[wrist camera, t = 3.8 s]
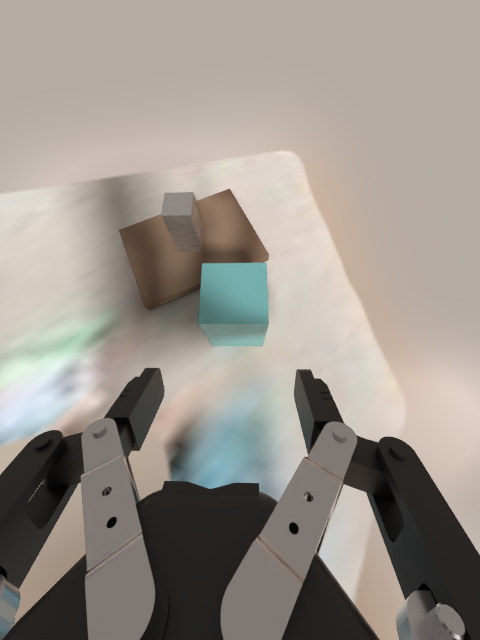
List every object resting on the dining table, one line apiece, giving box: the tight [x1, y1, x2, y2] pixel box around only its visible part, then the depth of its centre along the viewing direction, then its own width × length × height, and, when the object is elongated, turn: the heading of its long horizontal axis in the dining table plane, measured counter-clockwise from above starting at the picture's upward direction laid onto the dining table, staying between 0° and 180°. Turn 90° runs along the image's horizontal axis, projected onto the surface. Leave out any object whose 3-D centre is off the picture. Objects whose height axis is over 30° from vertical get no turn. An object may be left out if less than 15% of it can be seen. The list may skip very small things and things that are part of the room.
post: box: [161, 192, 204, 252], centre depth 26 cm, size 3×3×6 cm
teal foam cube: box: [198, 263, 268, 346], centre depth 23 cm, size 6×6×8 cm
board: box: [119, 189, 269, 310], centre depth 30 cm, size 16×12×1 cm
